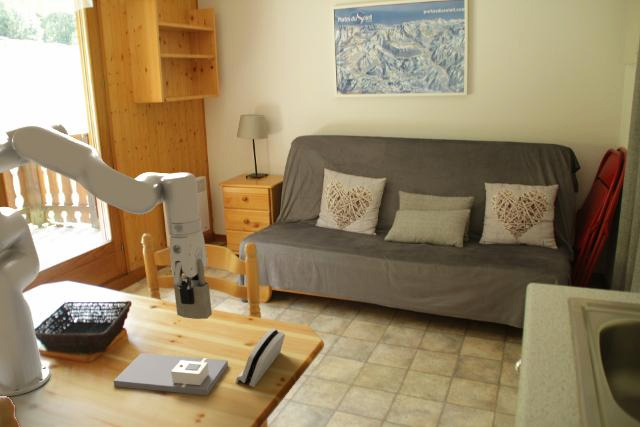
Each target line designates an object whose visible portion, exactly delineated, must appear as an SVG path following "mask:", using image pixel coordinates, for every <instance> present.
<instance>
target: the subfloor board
mask: <svg viewBox="0 0 640 427" xmlns="http://www.w3.org/2000/svg"><path fill="white" fill-rule="evenodd" d="M181 360H183V361H195V362H207V363H208V370H209V374H208V375H207V377H206V378H205V380H204V381H203V382H202V384H201V385H192V384H182V383H173V382H172V373H171V371H172V370H173V369H174V368H175V366H176V365H177V364H178V363H179V362H180V361H181ZM228 362H229V361H228V360H227V359H217V358H207V357H192V356H191V357H190V356H182V355H168V354H167V355H166V354H156V353H155V354H154V353H146V352H145V353H144V352H141V353H140V354H139V355H138V356H136V358H135V359H134V360H133V361H132V362H131V363H130V364H128V366H127V367H125V368H124V369H123V371H122V372H120V373H119V375H118V376H116V377H115V379H113V386H114V387H120V388H122V387H123V388H130V389H139V390H148V391H149V390H150V391H151V390H152V391H161V392H168V393H169V392H170V393H179V394H181V393H182V394H192V395H201V396H208V395H209V393H211V391H212V389H213V388H214V386H215V385H216V384H217V382H218V381H219V379H220V378H221V376H222V375H223V374H224V372H225V370H226V369H227V367H228V366H229V363H228Z"/></svg>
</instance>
